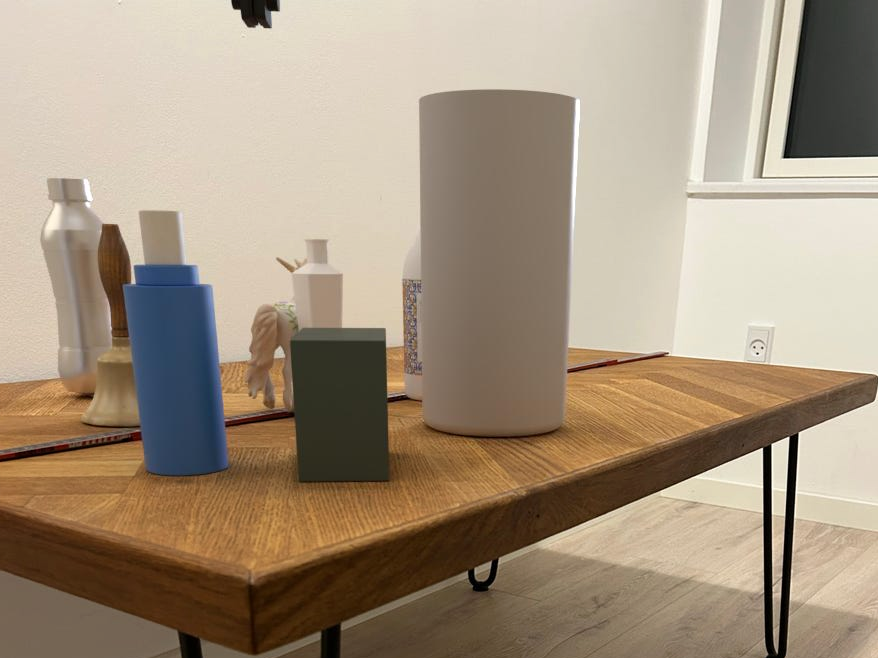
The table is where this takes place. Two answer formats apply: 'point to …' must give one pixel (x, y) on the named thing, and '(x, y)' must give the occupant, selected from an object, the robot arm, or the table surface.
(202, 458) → the blue bottle
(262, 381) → the unicorn figurine
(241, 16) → the robot arm
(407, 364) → the bath foam
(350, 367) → the green block
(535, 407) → the cylinder vase
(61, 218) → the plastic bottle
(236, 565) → the table surface
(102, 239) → the hand bell
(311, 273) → the perfume bottle
